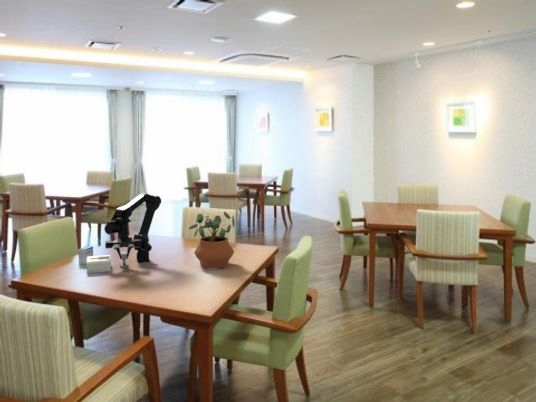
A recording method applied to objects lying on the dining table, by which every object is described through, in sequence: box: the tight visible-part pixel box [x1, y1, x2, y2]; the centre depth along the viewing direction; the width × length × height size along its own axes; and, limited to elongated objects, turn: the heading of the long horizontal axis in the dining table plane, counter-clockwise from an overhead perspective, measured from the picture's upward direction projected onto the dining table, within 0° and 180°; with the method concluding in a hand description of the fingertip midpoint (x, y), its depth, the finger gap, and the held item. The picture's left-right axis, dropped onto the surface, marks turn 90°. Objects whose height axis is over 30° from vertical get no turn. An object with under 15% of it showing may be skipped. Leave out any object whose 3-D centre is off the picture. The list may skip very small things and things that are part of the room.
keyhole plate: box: [85, 254, 112, 274], centre depth 242 cm, size 12×12×6 cm
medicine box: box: [77, 245, 94, 265], centre depth 254 cm, size 8×4×9 cm, turn 168°
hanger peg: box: [119, 250, 129, 269], centre depth 246 cm, size 4×6×8 cm
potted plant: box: [188, 211, 235, 269], centre depth 251 cm, size 23×28×30 cm
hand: (124, 258), depth 246 cm, fingers open, 3 cm apart
